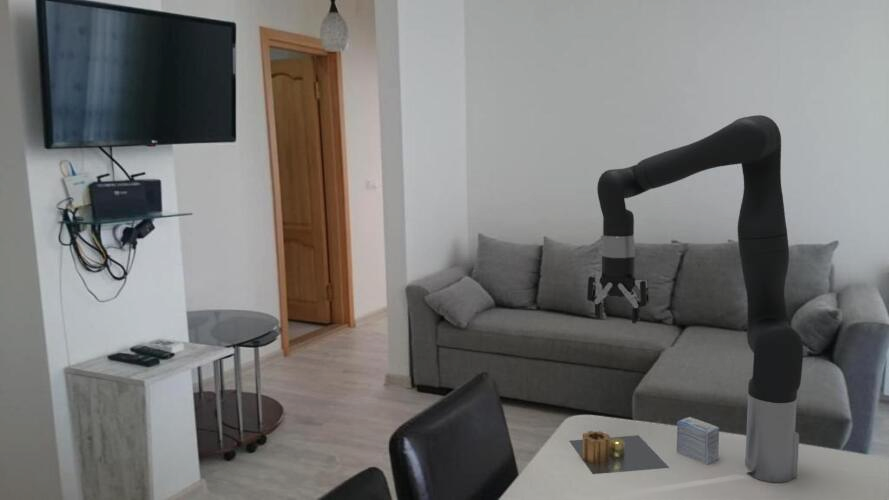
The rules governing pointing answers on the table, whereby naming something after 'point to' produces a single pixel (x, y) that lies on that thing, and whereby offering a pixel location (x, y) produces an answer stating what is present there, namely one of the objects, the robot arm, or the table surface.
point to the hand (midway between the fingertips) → (617, 320)
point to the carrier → (624, 456)
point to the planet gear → (596, 447)
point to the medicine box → (698, 440)
